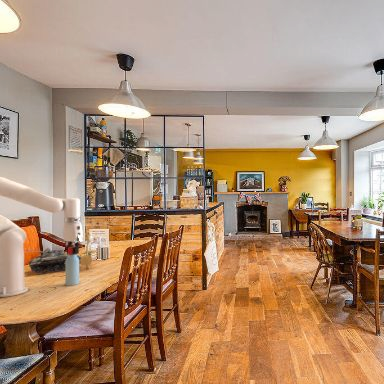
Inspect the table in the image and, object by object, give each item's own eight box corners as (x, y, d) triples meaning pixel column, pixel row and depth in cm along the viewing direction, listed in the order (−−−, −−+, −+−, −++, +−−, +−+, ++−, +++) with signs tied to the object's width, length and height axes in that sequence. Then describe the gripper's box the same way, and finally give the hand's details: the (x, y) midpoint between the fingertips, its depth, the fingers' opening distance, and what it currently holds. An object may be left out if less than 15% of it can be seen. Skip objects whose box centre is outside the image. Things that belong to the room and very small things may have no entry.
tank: (24, 271, 180) (24, 248, 180) (80, 263, 201) (79, 242, 201) (25, 277, 168) (25, 252, 168) (85, 267, 189) (84, 245, 189)
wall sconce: (94, 270, 182) (94, 231, 181) (77, 272, 179) (77, 232, 178) (99, 265, 195) (98, 228, 195) (83, 266, 192) (82, 229, 192)
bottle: (70, 286, 152) (70, 249, 152) (62, 284, 155) (62, 249, 155) (81, 282, 158) (81, 247, 158) (74, 281, 161) (74, 246, 161)
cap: (69, 253, 158) (68, 246, 157) (77, 252, 159) (77, 246, 159) (67, 255, 154) (67, 248, 154) (75, 254, 155) (75, 247, 155)
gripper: (89, 220, 157) (89, 253, 157) (68, 219, 163) (69, 251, 163) (76, 221, 150) (76, 256, 150) (55, 220, 156) (55, 253, 156)
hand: (72, 253), depth 157 cm, fingers closed on cap, 3 cm apart
